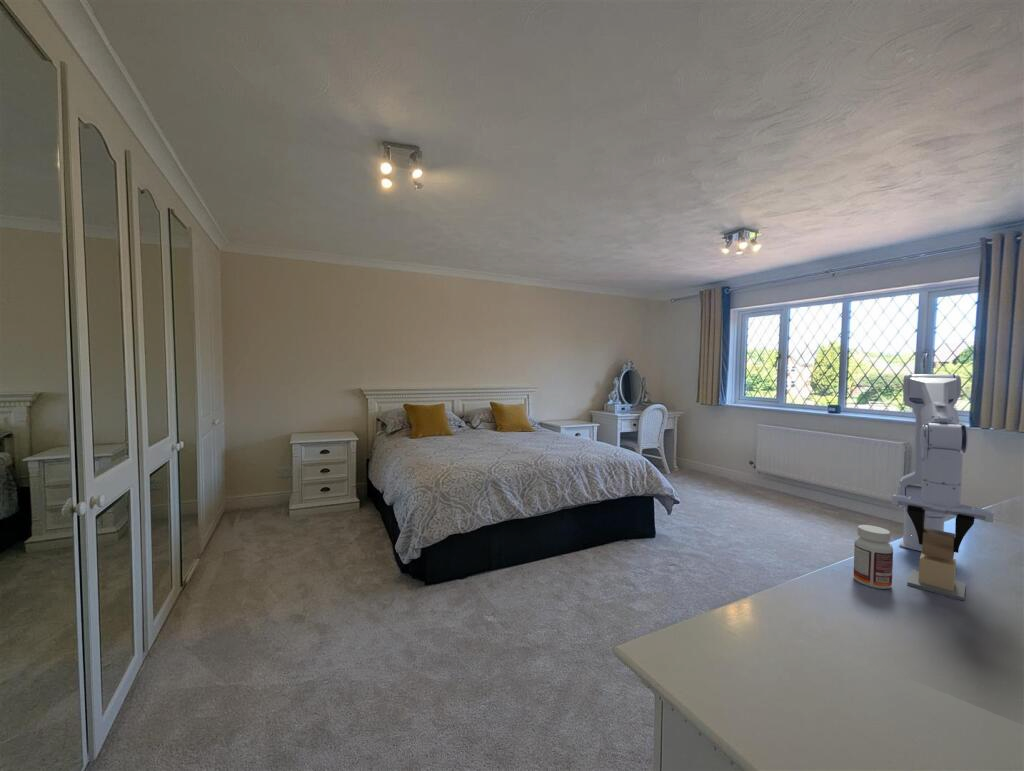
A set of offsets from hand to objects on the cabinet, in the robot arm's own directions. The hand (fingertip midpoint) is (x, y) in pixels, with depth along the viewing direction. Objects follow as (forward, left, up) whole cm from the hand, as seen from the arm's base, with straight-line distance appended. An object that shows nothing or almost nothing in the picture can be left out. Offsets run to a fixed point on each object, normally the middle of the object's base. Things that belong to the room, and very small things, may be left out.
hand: (938, 547), depth 87 cm
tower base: (0, 0, -8) cm, 8 cm away
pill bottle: (+9, -9, -8) cm, 15 cm away
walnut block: (0, 0, -1) cm, 1 cm away
